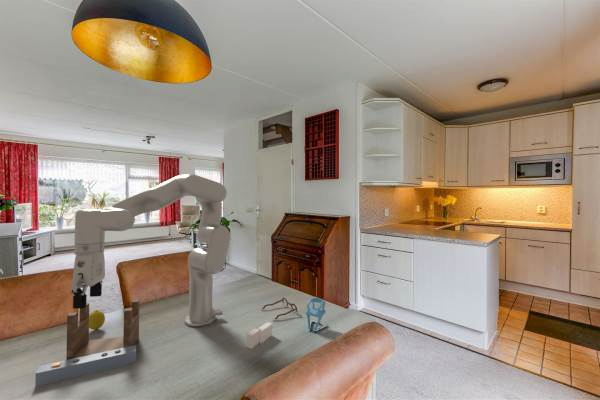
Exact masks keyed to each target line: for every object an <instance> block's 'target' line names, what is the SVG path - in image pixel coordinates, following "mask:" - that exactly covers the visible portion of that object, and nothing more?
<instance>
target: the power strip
mask: <svg viewBox="0 0 600 400" xmlns="http://www.w3.org/2000/svg"><path fill="white" fill-rule="evenodd" d="M136 361H137V344H136V345H134V346H129V347H124V348H120V349H115V350H110V351H106V352H101V353H96V354H92V355H87V356H82V357H78V358H73V359H68V360H66V359H65V360H60V361H56V362H55V361H54V362H50V363H46V364H40V365H39V367H38V369H36V372H35V387H39V386H42V385H46V384H51V383H55V382H59V381H64V380H68V379H72V378H75V377H79V376H80V377H81V376H84V375H85V376H86V375H88V374H93V373H96V372H101V371H104V370H109V369H113V368H118V367H120V366H121V367H122V366H125V365H129V364H133V363H136Z"/></svg>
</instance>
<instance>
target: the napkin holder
mask: <svg viewBox="0 0 600 400" xmlns="http://www.w3.org/2000/svg"><path fill="white" fill-rule="evenodd" d="M271 335H272V336H273V323H272V322H270V321H267V322H265V323H264V324H262V325H261V326H259V327H258V328H253V329H252V330H250V331H248V332H247V333H246V335H245V336H246V337H245V338H246V339H245V340H246V341H245V342H246V344H245V347H246V348H247V347H248V349H250V348H252V349H254V348H255V347H256V346H257V345H258V344H261V343H262V342H263V343H265V342H266V341H267V340H268V339H270V338H271V337H272V336H271ZM270 336H271V337H270ZM269 337H270V338H269ZM267 338H268V339H267ZM266 339H267V340H266ZM265 340H266V341H265ZM264 341H265V342H264ZM259 342H260V343H259ZM263 343H262V344H263ZM255 345H256V346H255Z"/></svg>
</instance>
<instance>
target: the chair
mask: <svg viewBox="0 0 600 400" xmlns="http://www.w3.org/2000/svg"><path fill="white" fill-rule="evenodd" d="M311 303H312V306H311V307H310V304H311ZM315 303H318V304H319V305H318V307H315ZM326 303H327V302H326V301H325V300H323V299H322V298H319V297H313V298H310V299H309V300H308V301H307V304H306V306H307V311H305V315H306V319H307V330H308V329H311V330H312V327H311V325H310V321H311V316H312V317H315V318H318V320H317V321H318V322H317V324H316V323H315V326H314V329H313V332H314V331H316V330H317V329H320V328H321V326H319V325H320V324H319V323H320V322H321V320H322V318H323V316H324V315H325V314H326V313H327V310H326V309H325V306H326ZM318 327H320V328H318Z"/></svg>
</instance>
